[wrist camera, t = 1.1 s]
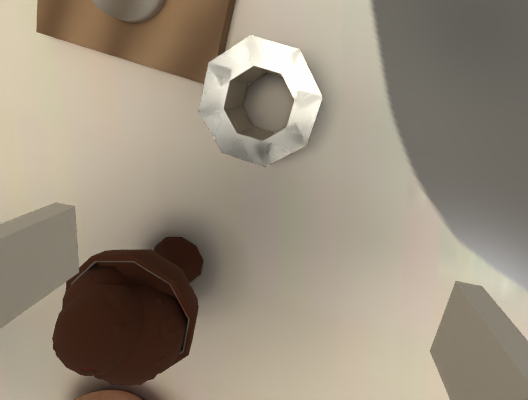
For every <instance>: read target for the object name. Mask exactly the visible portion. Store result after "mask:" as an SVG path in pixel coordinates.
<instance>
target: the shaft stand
mask: <svg viewBox="0 0 528 400" xmlns="http://www.w3.org/2000/svg"><path fill="white" fill-rule="evenodd" d="M234 5H235V0H38V4H37V32H38V33H42V34H45V35H48V36H51V37H55V38H58V39H61V40H64V41H67V42H71V43H74V44H77V45H80V46H84V47H87V48H90V49H93V50H97V51H100V52H103V53H106V54H110V55H113V56H116V57H119V58H123V59H126V60H129V61H132V62H135V63H139V64H142V65H145V66H148V67H152V68H155V69H158V70H161V71H165V72H168V73H171V74H174V75H178V76H181V77H184V78H187V79H191V80H194V81H197V82H200V83H203V84H204V83H205V78H206V73H207V68H208V63H209V62H210V61H212V60H213V59H215V58H216V57H218V56H219V55H221V54H223V53H224V50H225V45H226V41H227V36H228V32H229V27H230V23H231V18H232V14H233V9H234Z"/></svg>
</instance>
